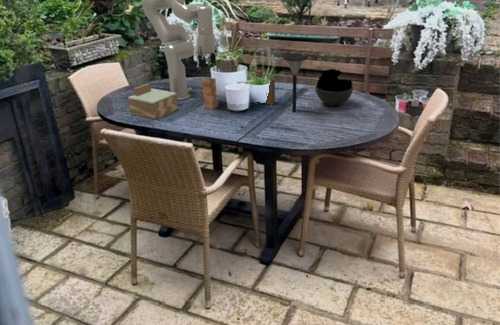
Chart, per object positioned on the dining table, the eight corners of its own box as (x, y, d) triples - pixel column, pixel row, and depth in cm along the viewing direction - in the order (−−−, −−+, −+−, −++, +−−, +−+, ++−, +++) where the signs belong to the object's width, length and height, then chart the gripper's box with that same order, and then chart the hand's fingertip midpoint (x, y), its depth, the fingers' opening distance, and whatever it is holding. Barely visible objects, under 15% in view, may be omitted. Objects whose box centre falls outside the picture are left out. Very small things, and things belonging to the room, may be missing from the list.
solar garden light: (310, 112, 234) (312, 55, 221) (291, 117, 229) (292, 58, 216) (296, 106, 244) (297, 51, 231) (278, 111, 238) (278, 54, 225)
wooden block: (272, 105, 247) (271, 73, 239) (255, 102, 252) (254, 71, 244) (275, 103, 250) (275, 71, 242) (258, 101, 254) (257, 69, 247)
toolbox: (154, 104, 254) (152, 90, 250) (178, 109, 245) (176, 95, 241) (130, 114, 240) (128, 99, 237) (155, 119, 231) (153, 105, 228)
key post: (210, 105, 249) (208, 77, 242) (217, 107, 246) (215, 78, 239) (204, 108, 245) (202, 79, 238) (211, 109, 243) (209, 81, 236)
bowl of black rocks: (337, 96, 257) (339, 64, 249) (359, 106, 241) (362, 72, 233) (307, 102, 250) (308, 69, 242) (328, 113, 234) (330, 77, 225)
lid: (152, 90, 250) (151, 81, 248) (176, 94, 241) (175, 85, 239) (128, 99, 237) (126, 89, 234) (153, 104, 228) (151, 94, 225)
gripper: (210, 28, 236) (211, 60, 244) (188, 33, 223) (191, 67, 231) (221, 29, 233) (222, 62, 240) (200, 35, 220) (202, 69, 227)
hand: (207, 64), depth 236 cm, fingers open, 9 cm apart
